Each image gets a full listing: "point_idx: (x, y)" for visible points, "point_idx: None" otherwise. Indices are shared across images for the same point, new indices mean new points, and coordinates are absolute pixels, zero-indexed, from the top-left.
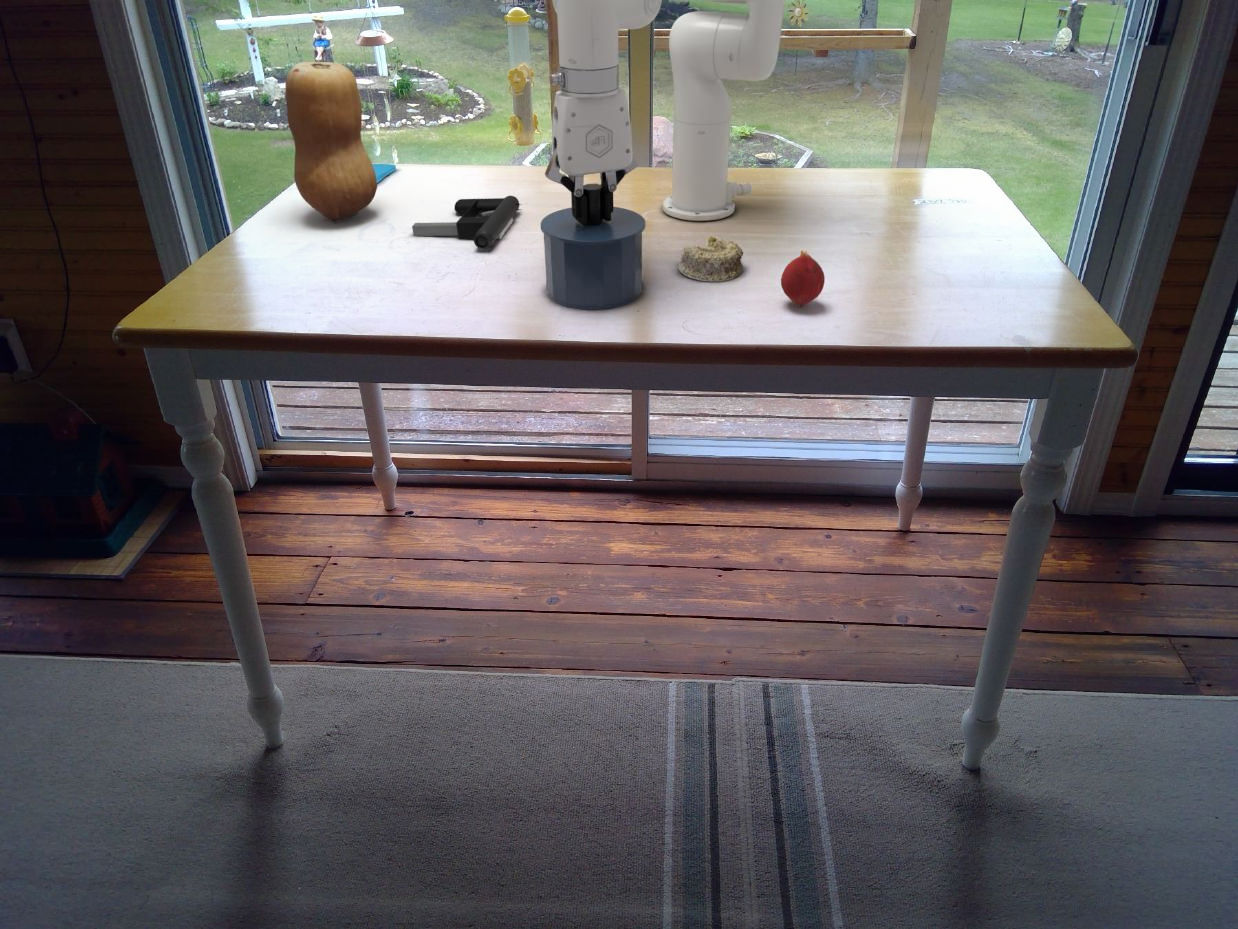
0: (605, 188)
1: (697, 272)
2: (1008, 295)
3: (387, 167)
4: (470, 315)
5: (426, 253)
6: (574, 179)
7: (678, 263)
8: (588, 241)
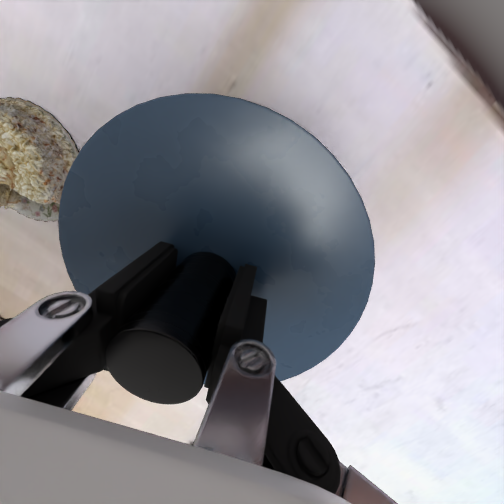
0: (101, 325)
1: (58, 143)
2: None
3: None
4: (464, 268)
5: (343, 438)
6: (262, 449)
7: None
8: (325, 148)
